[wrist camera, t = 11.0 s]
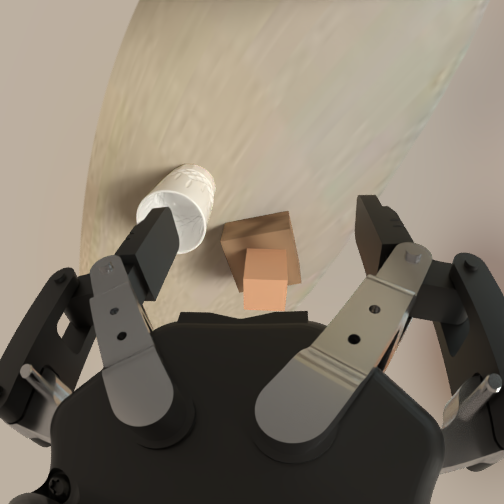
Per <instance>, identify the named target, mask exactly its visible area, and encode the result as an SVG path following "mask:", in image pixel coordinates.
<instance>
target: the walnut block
mask: <svg viewBox="0 0 504 504" xmlns="http://www.w3.org/2000/svg"><path fill="white" fill-rule="evenodd" d="M220 242H221V245H222V248H223V250H224V253H225V256H226V259H227V261H228V264H229V267H230V269H231V272H232V274H233V277H234V280H235V282H236V285H237V288H238V290H239V293H240V292H244V288H243V277H244V269H245V261H246V253H247V248H253V249H282V250H286V256H287V274H288V284H287V285H292V284H299V283H301V275H300V266H299V259H298V254H297V249H296V245H295V240H294V235H293V230H292V225H291V221H290V216H289V211H285V212H280V213H275V214H269V215H264V216H259V217H254V218H249V219H243V220H238V221H233V222H228V223H225V225H224V229H223V233H222V237H221V241H220Z"/></svg>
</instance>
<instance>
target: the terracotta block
mask: <svg viewBox="0 0 504 504" xmlns="http://www.w3.org/2000/svg"><path fill="white" fill-rule="evenodd" d="M287 284H288V274H287V256H286V250H282V249H253V248H247V253H246V261H245V269H244V277H243V288H244V310H269V311H285V303H286V294H287Z"/></svg>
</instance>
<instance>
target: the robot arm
mask: <svg viewBox="0 0 504 504" xmlns="http://www.w3.org/2000/svg"><path fill="white" fill-rule="evenodd" d="M355 239H356V243H357V246H358V250H359V253H360V256H361V259H362V262H363V265H364V269H365V272H366V276H367V277H366V278H365V279H364V281H363V282H362V283H361V285H360V286H359V287H358V289H357V290H356V291H355V292H354V294H353V295H352V296H351V298H350V299H349V300H348V301H347V303H346V304H345V305H344V307H343V308H342V309H341V310H340V312H339V313H338V314H337V315H336V316H335V318H334V319H333V320H332V321H331V322H330V324H329V325H328V326H326V325H323V324H320V323H317V322H313V321H308V312H307V311H293V312H273V313H268V314H264V315H259V316H254V317H249V318H244V319H237V318H232V317H228V316H223V315H218V314H214V313H206V312H181V313H180V315H179V318H178V321H177V322H173V323H169V324H166V325H164V326H161V327H159V328H157V329H155V330H154V329H153V327H152V324H151V322H150V320H149V318H148V315H147V313H146V311H145V309H144V307H143V305H142V304H143V302H144V301H156V298H157V296H158V294H159V291H160V289H161V287H162V285H163V283H164V280H165V278H166V276H167V274H168V271H169V269H170V267H171V265H172V263H173V261H174V259H175V256H176V254H177V252H178V250H179V244H180V242H179V235H178V232H177V229H176V225H175V222H174V218H173V215H172V211H171V209H170V208H169V207H160V208H152V209H151V211H150V212H149V213H148V215H147V216H146V217H145V219H144V220H142V221H141V222H139V223H138V224H137V225H136V226H134V228H133V229H132V230H131V232H130V234H129V235H128V236H127V237H126V240H124V242H123V243H122V244H121V246H120V247H119V249H118V250H117V252H116V253H115V254H114V255H111V256H107V257H104V258H102V259H100V260H99V261H97V262H96V263H95V264H94V265H93V266H92V268H91V269H90V274H86V275H82V276H79V277H77V275H76V273H75V272H74V270H73V269H72V268H63V269H61V270H59V271H57V272H56V273H54V274H53V275H52V276H51V277H50V278H49V280H48V281H47V283H46V284H45V286H44V287H43V289H42V291H41V292H40V293H39V295H38V296H37V298H36V299H35V301H34V303H33V304H32V305H31V307H30V309H29V310H28V312H27V314H26V315H25V317H24V318H23V320H22V322H21V323H20V325H19V327H18V328H17V330H16V332H15V334H14V336H13V337H12V339H11V341H10V343H9V344H8V346H7V348H6V350H5V352H4V354H3V356H2V358H1V359H0V418H1V419H3V421H4V422H5V423H6V424H8V425H9V426H10V427H12V428H13V429H15V430H16V431H17V432H19V433H20V434H22V435H23V436H25V437H26V438H29V439H31V440H32V441H34V442H35V443H37V444H39V445H40V446H42V447H49V446H51V466H50V473H49V475H48V478H47V480H46V481H45V483H44V484H43V485H42V486H41V487H40V488H38V489H37V490H35V491H34V492H31V493H24V494H21V495H19V496H17V497H15V498H13V499H12V500H11V501H10V503H9V504H430V501H431V497H432V493H433V490H434V487H435V484H436V481H437V478H438V476H439V474H443V473H447V472H451V471H455V470H458V469H462V468H465V467H466V468H467V469H468V470H470V471H474V472H477V471H482V470H484V469H486V468H487V467H489V466H491V465H493V464H495V463H497V462H498V461H500V460H502V459H503V458H504V296H503V294H502V292H501V290H500V288H499V286H498V285H497V283H496V281H495V279H494V278H493V276H492V274H491V273H490V271H489V269H488V267H487V266H486V264H485V263H484V262H483V261H482V260H481V259H480V258H478V257H477V256H475V255H473V254H470V253H459V254H457V255H456V256H455V257H454V260H453V263H452V264H451V263H444V262H440V261H435V260H432V255H431V253H430V252H429V250H427V249H426V248H425V247H423V246H422V245H419V244H416V243H414V242H413V240H412V238H411V237H410V235H409V233H408V231H407V230H406V228H405V227H404V224H403V223H402V221H400V218H399V216H398V215H397V213H396V212H395V211H393V210H392V209H391V208H389V207H388V206H382V205H381V203H380V202H379V200H378V198H377V196H376V195H358V197H357V206H356V221H355ZM63 312H64V313H65V315H66V316H67V318H68V319H69V320H70V323H69V325H68V327H67V329H66V331H65V333H64V335H63V337H62V339H61V337H60V336H59V334H58V332H57V323H58V321H59V319H60V317H61V316H62V314H63ZM413 318H419V319H425V320H430V321H433V324H434V327H435V330H436V334H437V337H438V341H439V344H440V348H441V352H442V355H443V359H444V363H445V367H446V371H447V375H448V380H449V384H450V389H451V394H452V398H451V399H450V400H449V401H448V402H447V404H446V406H445V408H444V412H443V425H442V428H441V429H440V427H439V425H438V423H437V422H436V420H435V419H434V418H433V417H432V416H431V415H430V414H429V413H428V412H427V411H426V410H425V409H424V408H422V407H421V406H420V405H419V404H418V403H417V402H416V401H415V400H414V399H412V398H411V397H410V396H409V395H408V394H407V393H406V392H405V391H403V389H401V388H400V387H399V386H398V385H397V384H396V383H395V382H394V381H393V380H391V379H390V378H389V377H388V376H387V375H386V374H385V373H384V372H385V371H386V368H387V367H388V365H389V363H390V361H391V359H392V357H393V355H394V353H395V351H396V350H397V348H398V346H399V344H400V342H401V340H402V338H403V336H404V335H405V333H406V331H407V329H408V327H409V325H410V323H411V321H412V319H413ZM96 337H97V341H98V345H99V349H100V353H101V357H102V361H103V366H104V368H103V369H102V370H101V371H100V372H99V373H97V374H96V375H95V376H93V377H92V378H91V379H89V380H88V381H87V382H86V383H84V384H83V385H82V386H81V387H79V388H78V389H77V390H75V391H74V389H75V387H76V384H77V381H78V379H79V376H80V374H81V371H82V369H83V366H84V364H85V361H86V359H87V356H88V354H89V351H90V349H91V347H92V344H93V342H94V340H95V338H96Z"/></svg>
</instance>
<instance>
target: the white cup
mask: <svg viewBox="0 0 504 504" xmlns="http://www.w3.org/2000/svg"><path fill="white" fill-rule="evenodd" d="M215 190H216V186H215V183H214V179H213V177H212V176H211V174H210V173H209V172H208V171H207V170H206V169H205V168H202V167H200V166H198V165H196V164H184V165H182V166H180V167H178V168H175V169H174V170H173V171H172V172H171V173H170V174H169V175H167V176H166V177H165V178H164V179H163V180H162V181H160V182H159V183H158V184H157V185H156V186H155V187H154V189H153V190H152V191H151V192H150V193H149V194H148V195H147V196H146V197H145V198H144V199H143V200H142V201H141V203H140V204H139V206H138V209H137V213H136V222H137V224H138V223H139V222H141V221H142V220H144V219H145V217H146V216H147V215H148V213H149V212H150V211H151V209H152V208H160V207H169V208H170V209H171V211H172V215H173V218H174V222H175V225H176V229H177V232H178V235H179V242H180V244H179V250H178V252H177V254H183V253H187V252H190V251H192V250H194V249H195V248H196V247H198V246H199V245H200V243H201V242H202V241H203V239H204V236H205V233H206V229H207V225H208V222H209V218H210V214H211V211H212V206H213V202H214V195H215Z"/></svg>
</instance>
